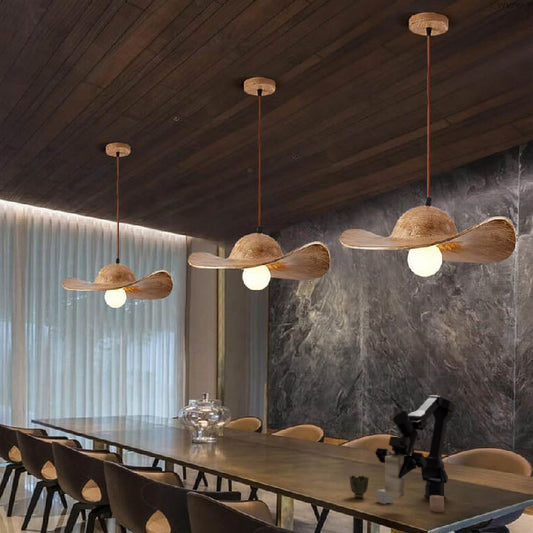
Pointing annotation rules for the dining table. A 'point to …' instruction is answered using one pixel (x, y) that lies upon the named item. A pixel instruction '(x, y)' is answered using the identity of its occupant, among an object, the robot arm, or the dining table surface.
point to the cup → (359, 485)
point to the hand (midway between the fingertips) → (392, 476)
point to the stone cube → (384, 497)
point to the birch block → (394, 476)
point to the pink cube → (436, 503)
